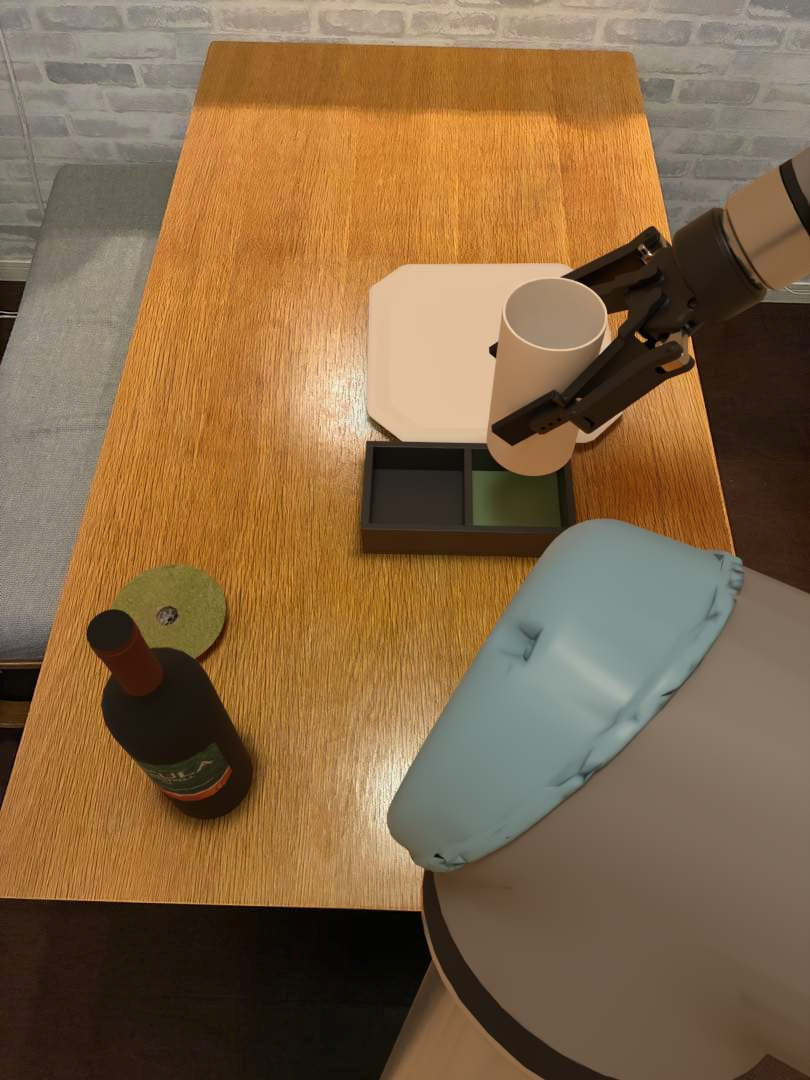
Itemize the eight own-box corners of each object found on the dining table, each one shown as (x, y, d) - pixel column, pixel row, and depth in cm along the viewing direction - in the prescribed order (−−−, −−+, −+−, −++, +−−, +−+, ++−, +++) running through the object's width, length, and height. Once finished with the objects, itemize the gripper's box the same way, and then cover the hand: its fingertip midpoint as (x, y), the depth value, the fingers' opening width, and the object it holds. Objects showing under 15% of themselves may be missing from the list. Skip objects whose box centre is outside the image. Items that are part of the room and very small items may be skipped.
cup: (525, 490, 77) (550, 367, 63) (468, 433, 80) (480, 304, 67) (592, 448, 79) (630, 320, 66) (534, 394, 83) (559, 262, 69)
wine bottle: (268, 755, 77) (199, 601, 51) (224, 834, 73) (126, 711, 48) (196, 721, 78) (94, 556, 53) (150, 797, 75) (17, 659, 49)
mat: (136, 565, 87) (131, 555, 85) (242, 581, 86) (239, 572, 84) (97, 666, 81) (90, 657, 80) (210, 684, 80) (206, 676, 79)
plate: (626, 453, 94) (631, 440, 93) (366, 455, 94) (365, 442, 93) (594, 274, 110) (597, 261, 108) (370, 276, 110) (369, 262, 108)
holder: (570, 557, 87) (578, 533, 84) (362, 553, 88) (360, 529, 84) (562, 470, 93) (569, 444, 89) (367, 466, 94) (366, 440, 90)
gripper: (801, 386, 57) (532, 513, 71) (744, 188, 68) (521, 331, 82) (748, 327, 53) (473, 474, 67) (697, 125, 64) (470, 288, 78)
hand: (500, 395), depth 75 cm, fingers closed on cup, 8 cm apart
